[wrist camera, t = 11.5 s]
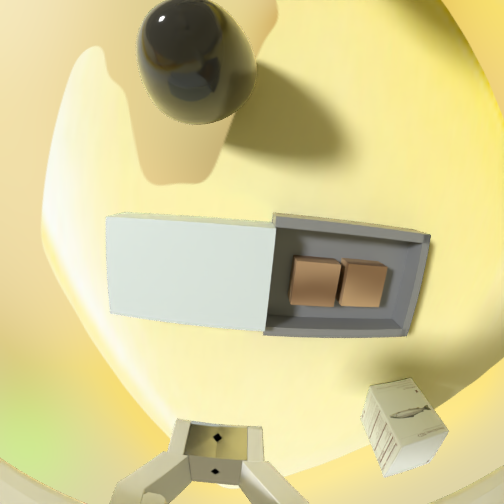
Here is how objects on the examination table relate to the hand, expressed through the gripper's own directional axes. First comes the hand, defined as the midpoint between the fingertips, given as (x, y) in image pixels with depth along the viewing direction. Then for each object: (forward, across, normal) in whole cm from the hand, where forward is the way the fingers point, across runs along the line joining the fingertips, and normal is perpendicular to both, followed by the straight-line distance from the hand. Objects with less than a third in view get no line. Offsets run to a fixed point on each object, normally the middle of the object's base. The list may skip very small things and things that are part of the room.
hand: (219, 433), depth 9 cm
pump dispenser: (+23, +5, -18) cm, 30 cm away
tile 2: (+19, -13, +1) cm, 23 cm away
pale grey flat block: (+22, +5, 0) cm, 23 cm away
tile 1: (+22, -8, +1) cm, 23 cm away
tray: (+22, -12, 0) cm, 25 cm away
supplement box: (+22, -23, +20) cm, 38 cm away
